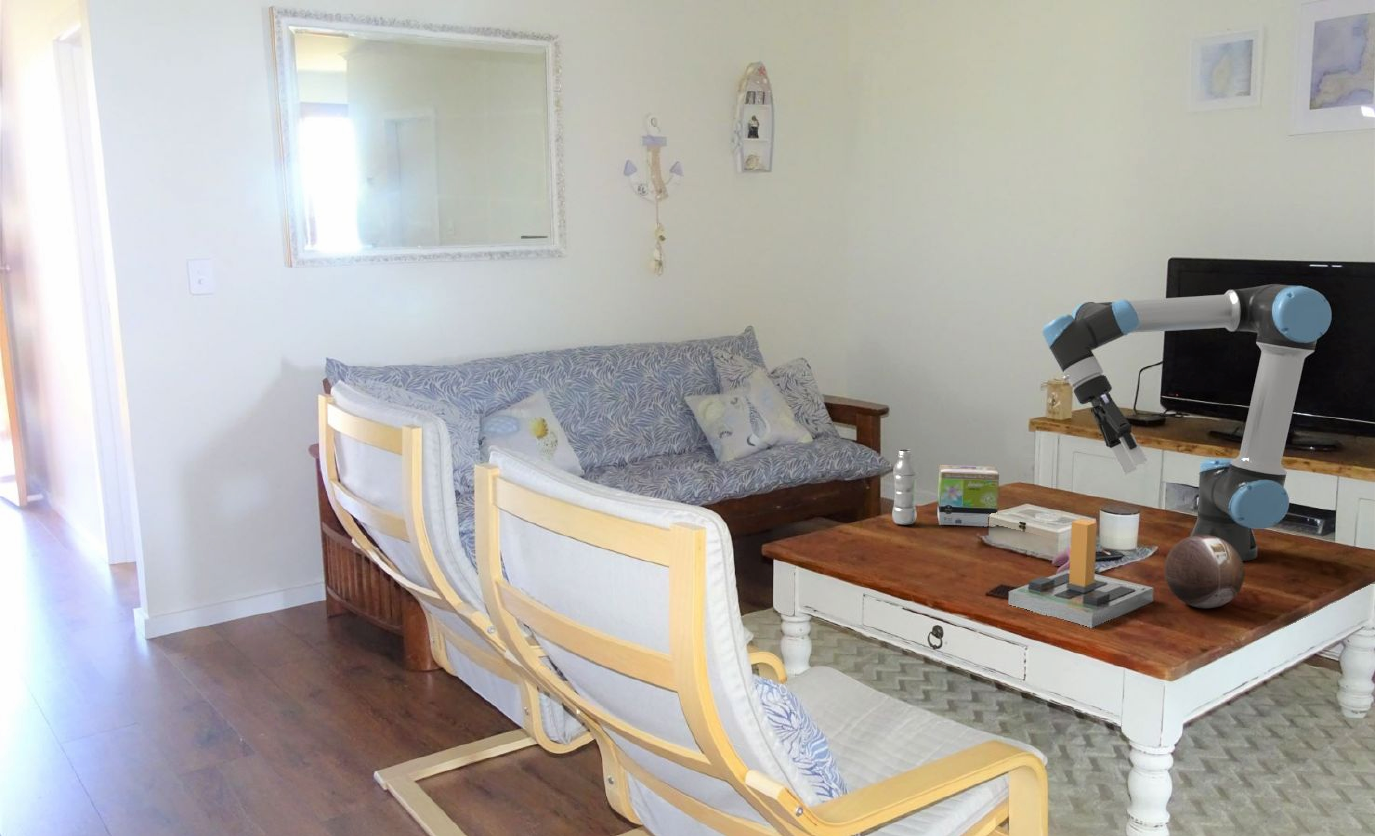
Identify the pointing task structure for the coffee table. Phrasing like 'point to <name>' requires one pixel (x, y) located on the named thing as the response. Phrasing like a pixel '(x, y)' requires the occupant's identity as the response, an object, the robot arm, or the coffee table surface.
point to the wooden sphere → (1204, 571)
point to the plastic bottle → (904, 488)
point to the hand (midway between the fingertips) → (1135, 467)
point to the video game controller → (1062, 561)
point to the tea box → (967, 494)
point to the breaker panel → (1081, 598)
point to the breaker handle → (1082, 556)
